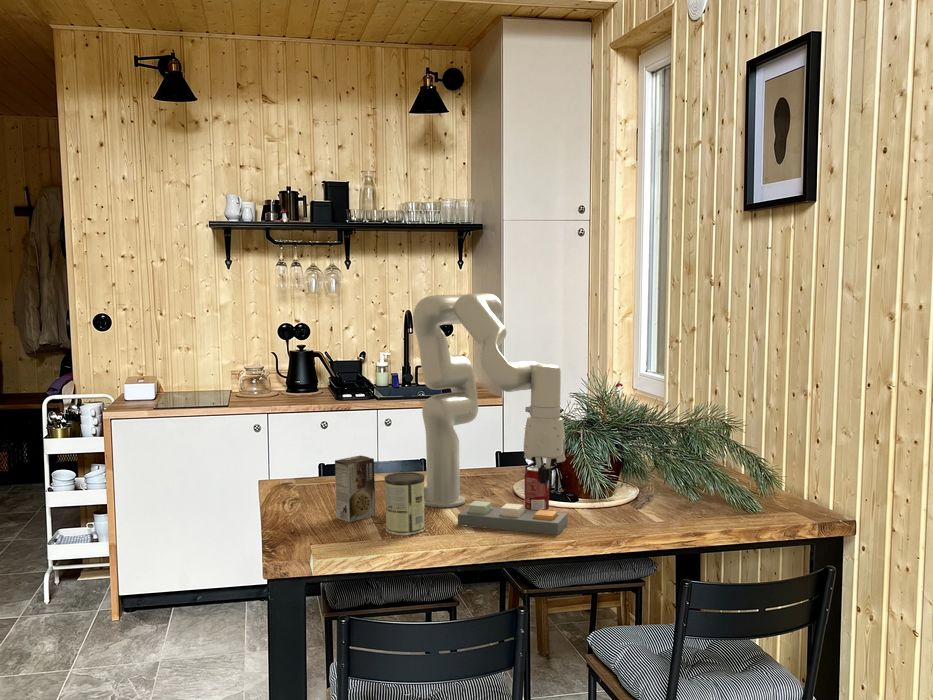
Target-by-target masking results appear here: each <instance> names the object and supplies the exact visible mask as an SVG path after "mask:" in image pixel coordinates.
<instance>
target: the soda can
mask: <svg viewBox="0 0 933 700" xmlns="http://www.w3.org/2000/svg"><path fill="white" fill-rule="evenodd" d="M549 490H550V481H549V482H548V483H547V484H544V483H542V484H540V479H538V468H537V466H536V465H531V466H528V467H526V471H525V472H524V510H535V511H539V510H547V511H549V509H550V491H549Z"/></svg>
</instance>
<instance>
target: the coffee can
mask: <svg viewBox="0 0 933 700" xmlns="http://www.w3.org/2000/svg"><path fill="white" fill-rule="evenodd" d="M384 485H385V486H384V487H385V488H384V489H385V490H384V493H385V495H384V496H385V527H386V528H385V532H386V533H388V532H389V533H388V534H390V533H392V534H391V535H394V534H414V535H417V534H416V533H418V534H420V532H421V533H423V532H424V530H426V517H425V516H426V512H425V511H426V509H425V506H426V505H425V503H424V487H425V474H422V473H420V472H411V471H406V472H405V471H402V472H393V473H389V474H387V475H385V476H384Z"/></svg>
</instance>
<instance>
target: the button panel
mask: <svg viewBox="0 0 933 700" xmlns="http://www.w3.org/2000/svg"><path fill="white" fill-rule="evenodd" d="M537 512H538V511H535V510H526V509H524V514H523V515H522V516H521V517H509V516H501V507H499V506H492V511H491V512H489V513H488V514H487V515H486V514H475V513H469V506H467V507H466V508H464V509H463V510H461V511H460V512H459V513H457V526H458V525H467V526H466V527H468V526H476V527H475V528H479V527H486V528H485V529H489V528H495V529H494V530H500V529H504V531H511V530H517V531H516V532H521V531H525V532H524V533H532V532H536V533H535V534H543V533H548V534H547V535H553V534H555V535H557V536H559V534H560V533H561V532H562V531H563V530H564V529H565V528H566V527H567V526H568V512H567V513H566V512H558V511H557V517H556V518H555V520H543V519H534V514H535V513H537ZM566 525H567V526H566ZM565 526H566V527H565ZM561 530H562V531H561ZM560 531H561V532H560Z"/></svg>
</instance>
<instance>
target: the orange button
mask: <svg viewBox="0 0 933 700" xmlns="http://www.w3.org/2000/svg"><path fill="white" fill-rule="evenodd" d="M557 512H558V510H557V511H556V510H539V511H538V512H537V513H535V514H534V519H543V520H555V518H556V517H557Z"/></svg>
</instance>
